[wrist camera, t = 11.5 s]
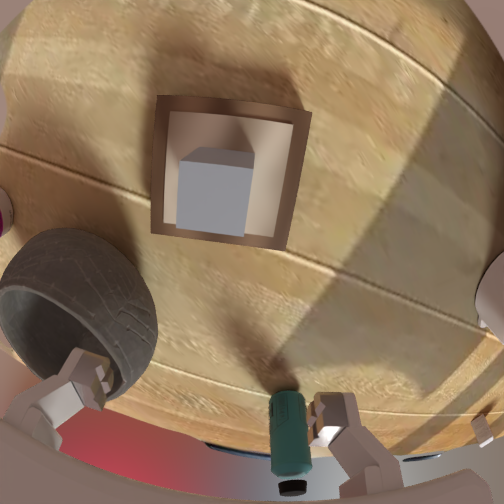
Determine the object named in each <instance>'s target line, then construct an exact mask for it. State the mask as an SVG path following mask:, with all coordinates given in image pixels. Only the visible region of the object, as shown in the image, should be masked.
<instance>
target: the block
mask: <svg viewBox="0 0 504 504" xmlns="http://www.w3.org/2000/svg"><path fill="white" fill-rule="evenodd" d="M254 159H255V153H250V152H243V151H235V150H226V149H217V148H208V147H198V148H197V149H195V150H194V151H193V152H191V153H190V154H188V155H187V156H185V157H184V158H183V159H181V160H180V162H179V176H178V192H177V213H176V228H180V229H188V230H195V231H203V232H211V233H218V234H226V235H233V236H240V237H244V232H245V225H246V218H247V211H248V204H249V197H250V190H251V183H252V176H253V170H254Z"/></svg>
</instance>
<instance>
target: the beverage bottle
mask: <svg viewBox="0 0 504 504" xmlns="http://www.w3.org/2000/svg"><path fill="white" fill-rule="evenodd" d="M269 410H270V413H269V416H270V423H269V424H270V425H269V426H270V427H269V428H270V429H269V431H270V433H269V434H270V440H269V441H270V447H271V472H272V473H273V474H275V475H276V476H277V477H279V478H281V479H296V478H300V477H303V476H305V475H306V474H307V473H308V472H309V471H310V470H311V469H312V463H311V453H310V446H308V434H307V432H308V427H309V426H308V424H307V420H306V415H307V413H306V412H307V408H306V405H305V399H304V397H303V395H302V394H301V393H299V392H297V391H281V392H278V393H276V394H274V395H273V396H272V397H271V398H270V401H269ZM278 486H279V492H280V495H281V496H298V495H302V494H305V493H306V488H307V487H306V486H307V481H305V480H288V481H283V482H280V483H279V484H278Z"/></svg>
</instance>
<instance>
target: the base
mask: <svg viewBox="0 0 504 504" xmlns="http://www.w3.org/2000/svg"><path fill="white" fill-rule="evenodd" d="M311 117H312V112H309V111H304V110H299V109H294V108H288V107H282V106H276V105H270V104H263V103H256V102H249V101H240V100H231V99H221V98H209V97H195V96H172V95H157V103H156V113H155V124H154V137H153V153H152V174H151V233H153V234H161V235H168V236H176V237H183V238H191V239H198V240H206V241H213V242H221V243H228V244H236V245H243V246H250V247H258V248H265V249H272V250H280V251H285V249H286V245H287V240H288V235H289V231H290V226H291V221H292V216H293V211H294V206H295V202H296V197H297V192H298V187H299V181H300V176H301V171H302V166H303V161H304V155H305V150H306V145H307V139H308V134H309V128H310V123H311ZM198 147H208V148H217V149H226V150H235V151H243V152H250V153H255V159H254V170H253V176H252V183H251V190H250V197H249V204H248V211H247V218H246V225H245V232H244V237H240V236H233V235H226V234H218V233H211V232H203V231H195V230H188V229H180V228H176V213H177V192H178V176H179V162H180V160H181V159H183V158H184V157H185V156H187V155H188V154H190V153H191V152H193V151H194V150H195V149H197V148H198Z"/></svg>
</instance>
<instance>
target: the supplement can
mask: <svg viewBox="0 0 504 504" xmlns="http://www.w3.org/2000/svg"><path fill="white" fill-rule="evenodd" d="M12 222H13V208H12V204H11V201H10V198H9V197H8V195H7V193H6V192H5V191H4V190H3V189H2V188H0V238H1V237H2V236H4V235H5V234H6V233H7V232H8V231H10V229H11V226H12Z"/></svg>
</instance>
